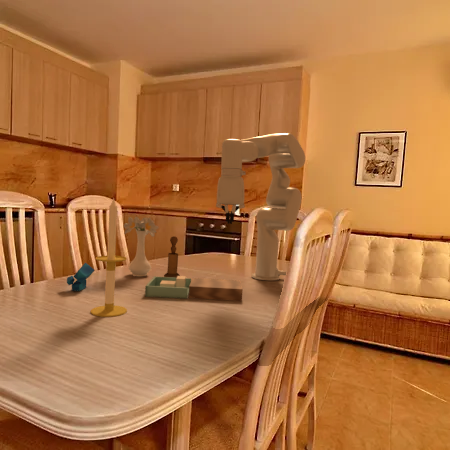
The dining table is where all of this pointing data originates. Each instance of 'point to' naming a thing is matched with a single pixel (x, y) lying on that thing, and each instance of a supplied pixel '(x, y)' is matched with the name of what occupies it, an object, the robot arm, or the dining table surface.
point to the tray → (166, 288)
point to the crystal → (80, 278)
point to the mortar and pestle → (172, 260)
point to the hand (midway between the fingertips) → (229, 223)
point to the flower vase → (140, 244)
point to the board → (215, 289)
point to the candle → (110, 270)
